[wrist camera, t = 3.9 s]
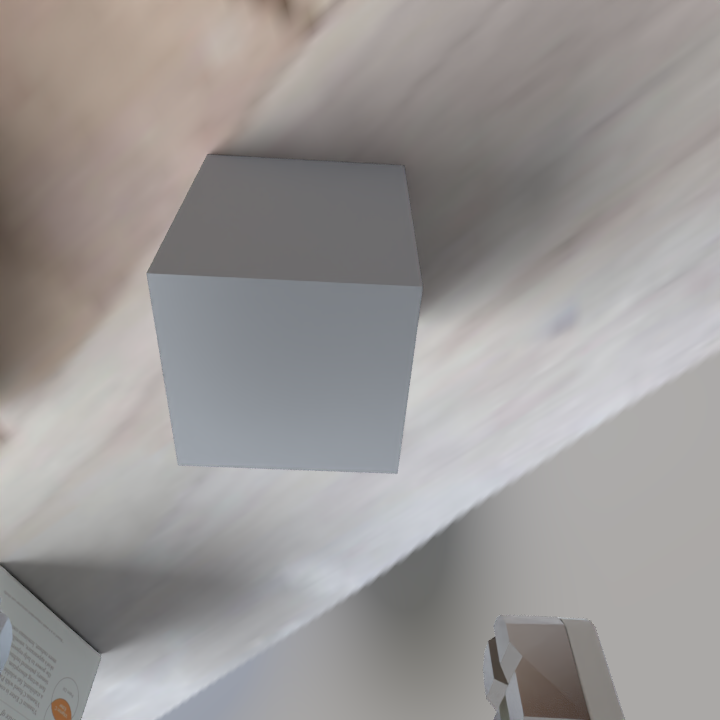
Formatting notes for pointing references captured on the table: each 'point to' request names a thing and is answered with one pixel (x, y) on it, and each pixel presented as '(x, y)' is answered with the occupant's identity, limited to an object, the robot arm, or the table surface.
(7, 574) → the small box
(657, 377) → the table surface
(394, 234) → the block
